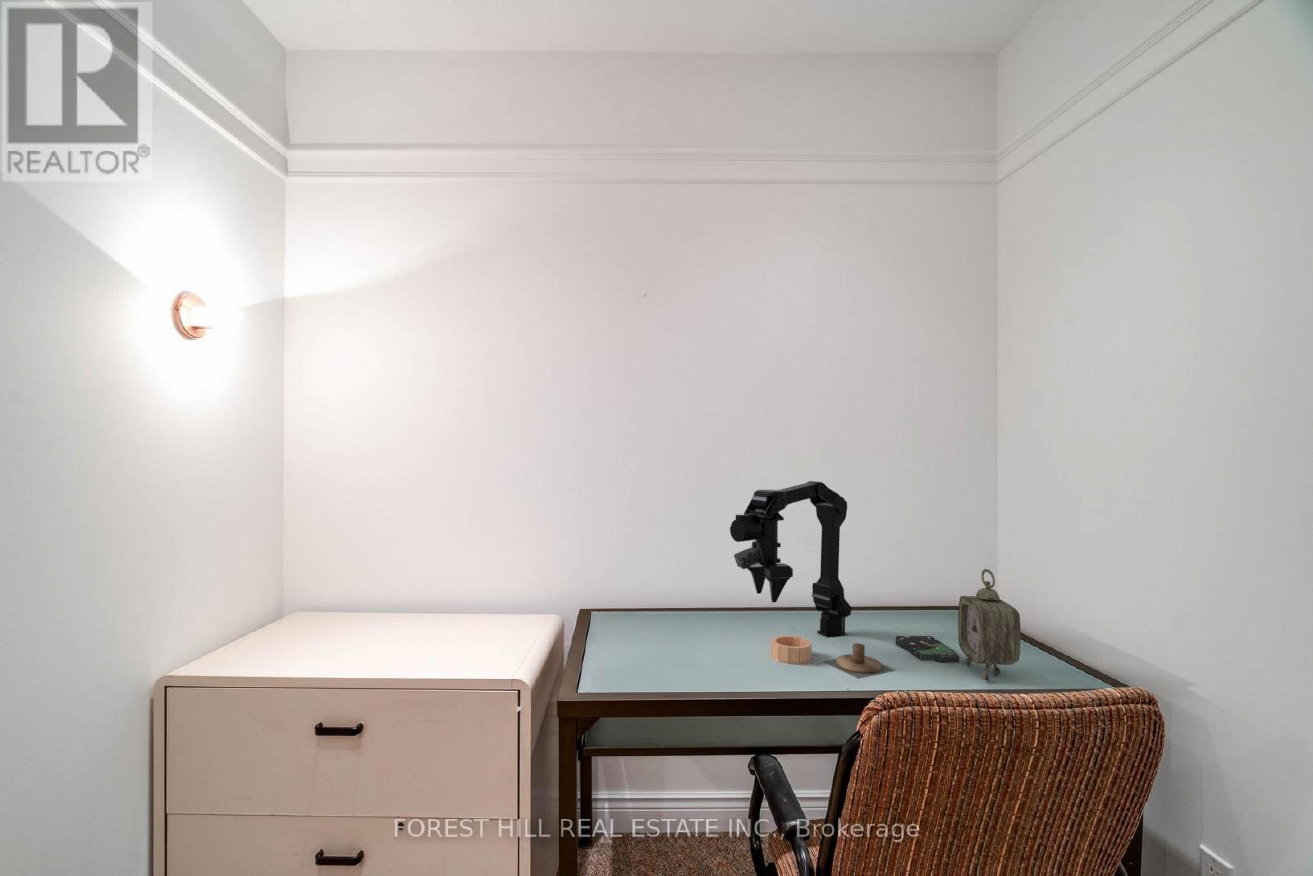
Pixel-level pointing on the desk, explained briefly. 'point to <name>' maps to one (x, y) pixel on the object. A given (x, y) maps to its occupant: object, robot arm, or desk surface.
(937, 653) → the disk drive
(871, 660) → the lid
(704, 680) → the desk surface
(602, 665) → the desk surface
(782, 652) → the bowl
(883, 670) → the trivet
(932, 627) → the desk surface
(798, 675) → the desk surface
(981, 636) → the tabletop clock
